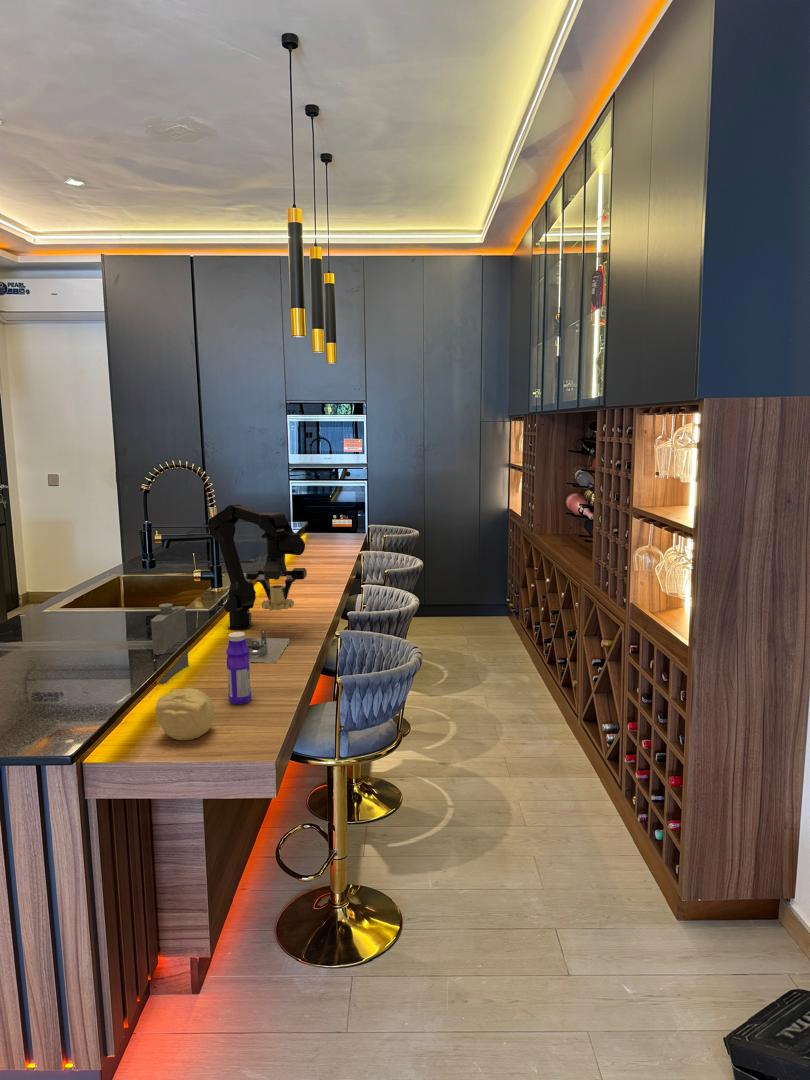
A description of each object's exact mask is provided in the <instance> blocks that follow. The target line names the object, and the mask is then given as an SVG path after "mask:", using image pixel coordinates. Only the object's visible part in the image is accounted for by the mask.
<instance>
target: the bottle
mask: <svg viewBox="0 0 810 1080" xmlns="http://www.w3.org/2000/svg"><path fill="white" fill-rule="evenodd" d="M245 639H246V633H245V632H243V631H234V632H231V633H229V634H228V644H227V649H225V650H226V651H225V653H226V655H227V656H226V668H227V691H228V692H227V696H228V700H229V702H230V703H231V704H233V705H241V704H242V705H244V704H247V703H249V702H250V701H251V698H252V689H251V688H252V687H251V673H250V672H251V671H250V668H251V667H250V664H251V663H250V660H249V655H248V652H249V648H248V647H247V644H246V640H245ZM243 703H244V704H243Z"/></svg>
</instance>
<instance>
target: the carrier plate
mask: <svg viewBox="0 0 810 1080" xmlns="http://www.w3.org/2000/svg"><path fill="white" fill-rule="evenodd" d="M245 640H246V644H247V647H248V648H249V652H248V655H249V660H250V662H267V663H266V664H276V662H277V661H278V660H279V658H280V657H281V655H282V654H283V653H282V652H285V650H286V649H287V648H288V646H289V644H290V643H291V638H277V637H276V638H269V637H268V638H267V631H266V630H260V637H247V638H246V637H245ZM287 645H288V646H287ZM285 648H286V649H285ZM284 649H285V650H284ZM279 656H280V657H279ZM277 659H278V660H277ZM276 660H277V661H276ZM268 662H269V663H268Z"/></svg>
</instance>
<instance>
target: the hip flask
mask: <svg viewBox="0 0 810 1080" xmlns="http://www.w3.org/2000/svg"><path fill="white" fill-rule="evenodd" d="M173 605H174V604H173V603H161V604H159V605H158V609H159V611H160V613H159V614H157V615H155V616H154V617H153V618H152V619H151V620H150V621H151V636H152V637H151V639H152V640H151V641H152V652H153V653H154V654H156V655H159V654H164V653H166V651H167V650H168V649H169V648H170V647H172V646H173V645H174V644H176V643H177V642H180V641H182V640H184V639H187V640H188V634H187V619H186V614H187V613H186V607H185V606H183V605H178V606H173ZM189 666H190V665H189V652H188V647H187V649H186V651H185V652H184V653H183V654H182V655H181V657H180V658H179V660H178V661H177V662H176V663H175V664H174V666H173V667H172V668H171V669H170V670H168V671H167V672H166V674H165V675H164V676H163V678H162V679H161V680H160V681H159V684H158V685H163V684H167V683H168V682H169V681H170V679H172V677H174V676H175V675H176V674H177V673H179V672H181V671H183V670H184V669H186V668H188V667H189Z"/></svg>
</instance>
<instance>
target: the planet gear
mask: <svg viewBox="0 0 810 1080" xmlns="http://www.w3.org/2000/svg"><path fill="white" fill-rule="evenodd" d="M269 596H270V600H269V599H268V598H267V599H268V600H267V599H266V600H265V599H264V600H263V601H262V602H261V608H262V609H263V610H268V611H281V610H288V609H289V608H291V609H292V608H293V607H294V606H295V601H294V600H293V599H292V598H287V599H286V600H285V585H282V584H276V585H274V584H273V585H270V587H269Z"/></svg>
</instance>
